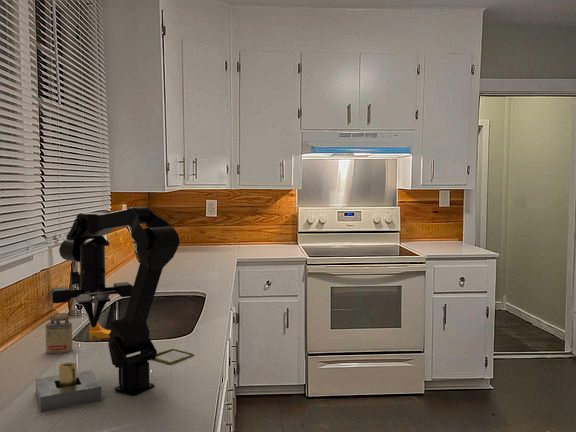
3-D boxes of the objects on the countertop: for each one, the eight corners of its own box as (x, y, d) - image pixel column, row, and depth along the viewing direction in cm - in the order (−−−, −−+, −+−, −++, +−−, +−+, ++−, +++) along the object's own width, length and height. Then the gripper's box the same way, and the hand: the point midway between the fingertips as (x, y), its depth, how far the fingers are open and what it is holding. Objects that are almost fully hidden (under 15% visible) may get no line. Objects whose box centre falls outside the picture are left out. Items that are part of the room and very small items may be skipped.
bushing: (80, 395, 117) (79, 363, 116) (66, 400, 114) (65, 368, 113) (69, 392, 119) (69, 361, 118) (56, 397, 116) (55, 365, 115)
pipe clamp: (89, 342, 158) (88, 321, 157) (90, 339, 162) (90, 318, 162) (130, 340, 161) (130, 319, 160) (131, 336, 165) (131, 316, 165)
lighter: (44, 354, 146) (43, 318, 146) (48, 350, 150) (47, 315, 149) (71, 353, 147) (70, 317, 147) (74, 349, 151) (73, 314, 150)
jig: (101, 400, 114) (101, 386, 114) (40, 411, 108) (40, 397, 108) (91, 382, 124) (91, 370, 124) (35, 392, 118) (35, 379, 118)
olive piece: (173, 355, 147) (173, 348, 147) (195, 361, 141) (195, 353, 141) (148, 363, 140) (148, 355, 140) (170, 370, 135) (170, 362, 134)
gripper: (124, 258, 140) (124, 316, 141) (47, 262, 131) (48, 324, 131) (134, 262, 130) (134, 325, 131) (52, 268, 121) (53, 335, 122)
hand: (93, 327), depth 129 cm, fingers closed
